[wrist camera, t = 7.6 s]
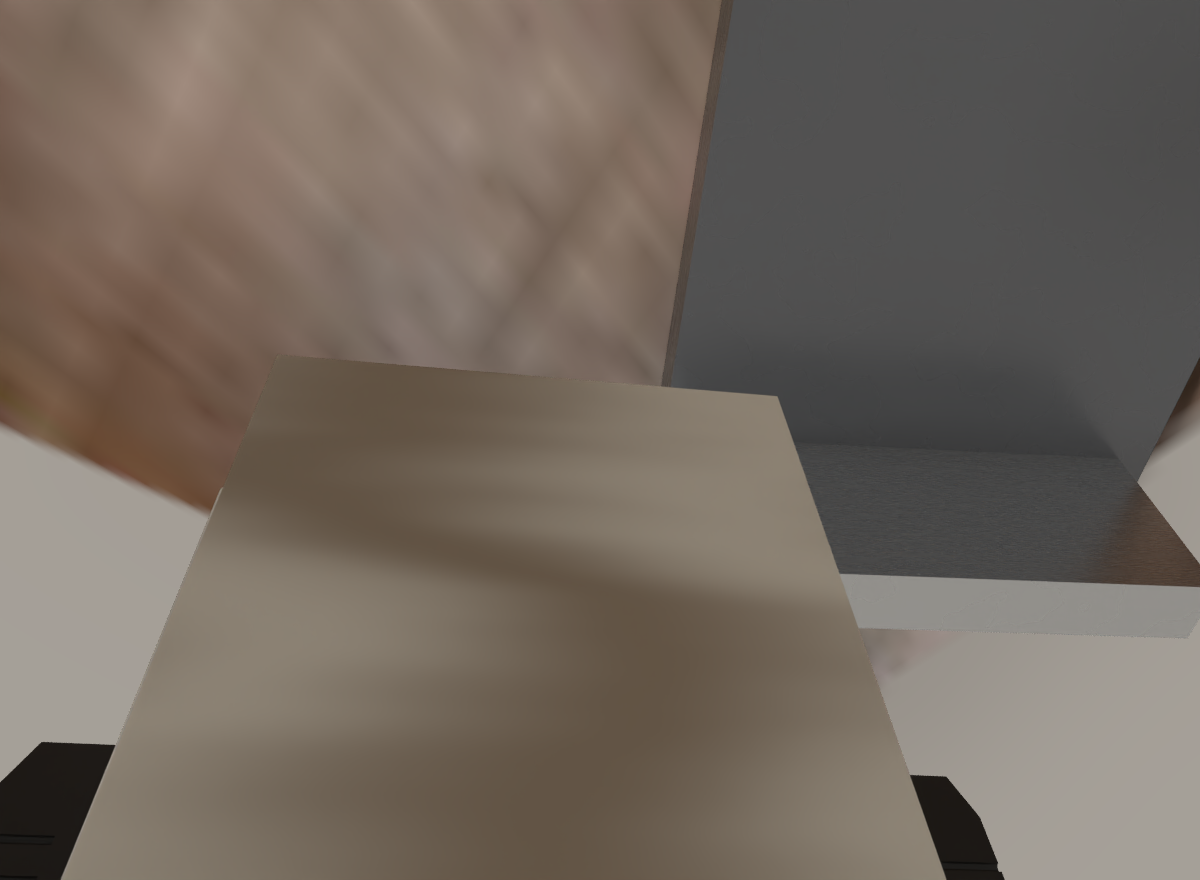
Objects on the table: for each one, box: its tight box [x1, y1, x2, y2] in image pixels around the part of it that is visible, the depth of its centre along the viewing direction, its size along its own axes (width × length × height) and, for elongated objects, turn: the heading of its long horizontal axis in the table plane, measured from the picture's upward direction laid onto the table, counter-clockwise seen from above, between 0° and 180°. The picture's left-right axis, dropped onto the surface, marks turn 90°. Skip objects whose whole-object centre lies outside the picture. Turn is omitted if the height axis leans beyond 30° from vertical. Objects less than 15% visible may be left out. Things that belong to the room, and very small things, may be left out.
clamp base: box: [661, 0, 1200, 638], centre depth 26 cm, size 16×25×8 cm, turn 174°
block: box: [63, 355, 946, 880], centre depth 11 cm, size 6×6×8 cm
